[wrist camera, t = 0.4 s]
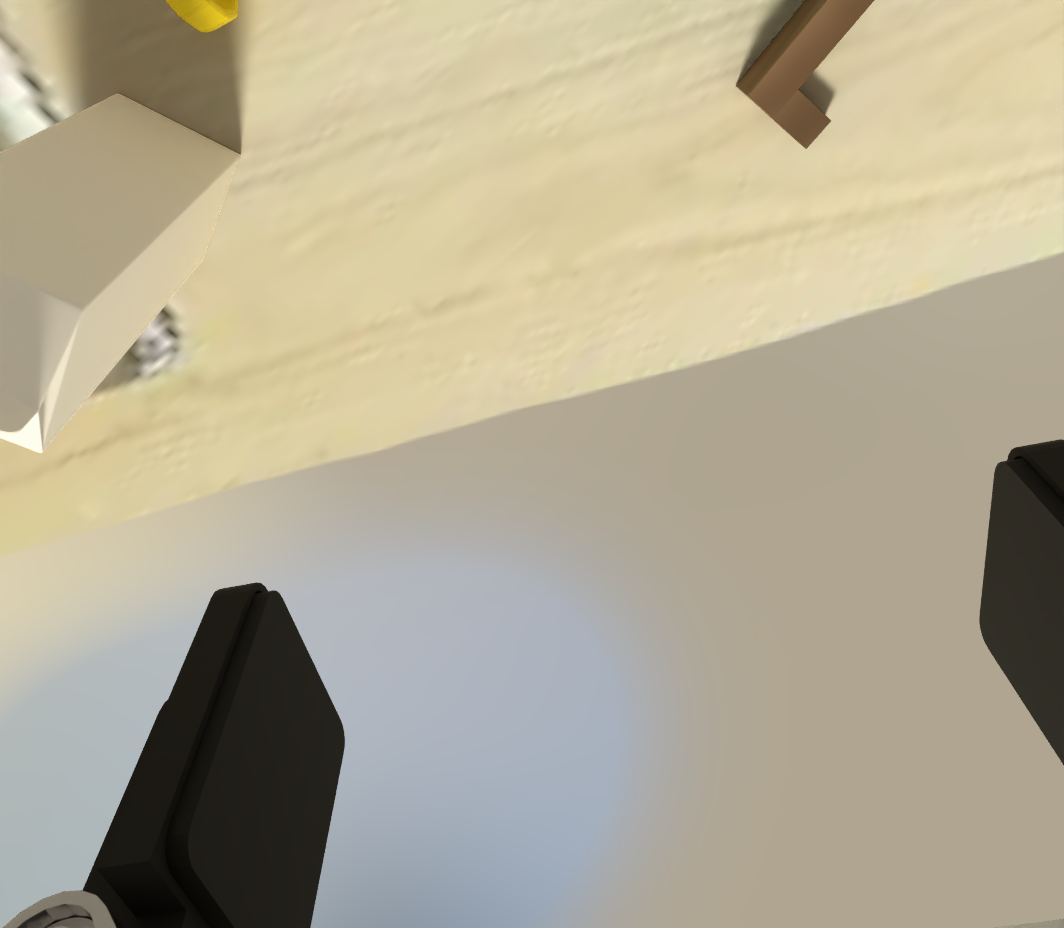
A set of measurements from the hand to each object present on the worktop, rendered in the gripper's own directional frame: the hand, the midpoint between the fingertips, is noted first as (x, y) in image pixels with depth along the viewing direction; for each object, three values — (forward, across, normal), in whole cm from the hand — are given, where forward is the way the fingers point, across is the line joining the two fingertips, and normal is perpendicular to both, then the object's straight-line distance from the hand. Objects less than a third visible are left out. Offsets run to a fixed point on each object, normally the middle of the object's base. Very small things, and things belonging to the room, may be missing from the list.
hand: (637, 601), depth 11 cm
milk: (+35, +19, 0) cm, 40 cm away
